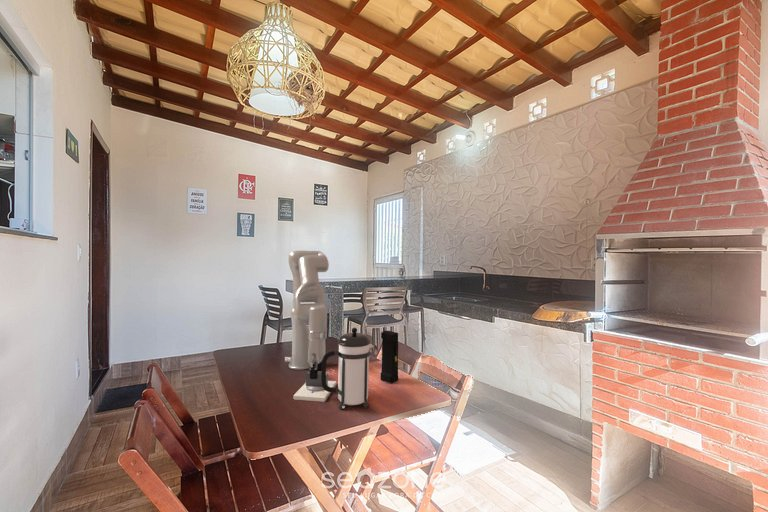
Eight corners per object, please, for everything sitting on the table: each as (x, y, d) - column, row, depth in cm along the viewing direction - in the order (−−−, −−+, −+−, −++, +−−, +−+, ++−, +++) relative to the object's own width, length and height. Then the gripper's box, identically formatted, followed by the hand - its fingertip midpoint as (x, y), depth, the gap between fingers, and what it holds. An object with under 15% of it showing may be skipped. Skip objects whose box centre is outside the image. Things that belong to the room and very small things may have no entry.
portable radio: (400, 381, 159) (401, 327, 159) (392, 384, 155) (393, 329, 154) (388, 376, 164) (389, 325, 164) (379, 379, 160) (380, 326, 160)
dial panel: (293, 399, 137) (293, 395, 137) (308, 382, 155) (308, 378, 155) (324, 401, 136) (324, 397, 136) (336, 384, 153) (336, 380, 153)
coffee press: (351, 391, 146) (352, 321, 146) (379, 402, 136) (380, 327, 136) (319, 405, 133) (320, 328, 132) (348, 418, 123) (350, 335, 122)
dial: (303, 390, 142) (303, 375, 142) (310, 382, 151) (310, 368, 151) (323, 391, 141) (324, 377, 141) (329, 383, 150) (330, 369, 150)
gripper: (315, 330, 155) (315, 368, 155) (302, 339, 138) (301, 381, 138) (331, 331, 154) (331, 369, 154) (320, 339, 137) (319, 382, 137)
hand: (317, 374), depth 146 cm, fingers open, 9 cm apart
